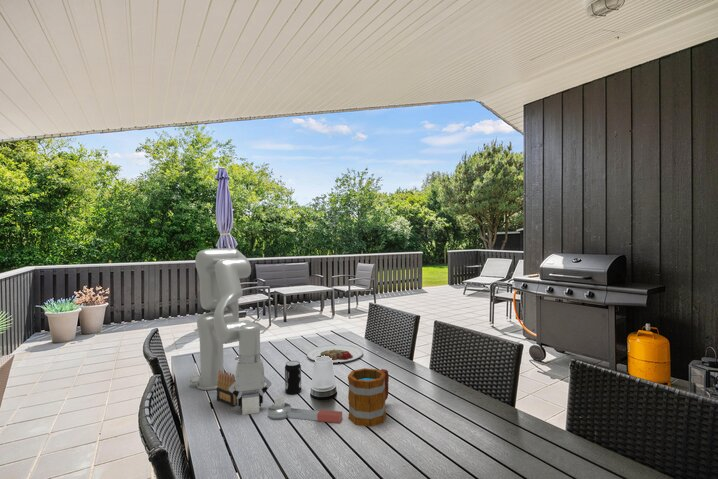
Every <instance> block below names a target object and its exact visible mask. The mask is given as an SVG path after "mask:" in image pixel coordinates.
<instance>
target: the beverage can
mask: <svg viewBox="0 0 718 479" xmlns="http://www.w3.org/2000/svg"><path fill="white" fill-rule="evenodd" d="M300 363H301V362H300V361H299V360H288V361H286V363H285V366H284V390H285V392H286V393H287V395H296V394H299V393H300V392H301V391H302V365H301V364H300Z"/></svg>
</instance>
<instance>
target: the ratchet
mask: <svg viewBox="0 0 718 479" xmlns="http://www.w3.org/2000/svg"><path fill="white" fill-rule="evenodd" d="M267 410H268V412H267V417H268V418H269V419H270V420H272V421H279V420H280V421H281V420H282V421H283V420H285V419H288V418H290V419H296V420H297V419H298V420H299V419H300V420H307V421H309V420H310V421H317V422H322V423H335V424H340V423H341V422H342V419H343V411H342V410H341V411H339V410H329V409H320V410H313V409H304V408H303V409H301V408H293V407H292V405H291V404H289V403H287V402H285V397H284V396H276V397H275V398H274V403H273V404H271V405H270V406H269V407H268V409H267Z"/></svg>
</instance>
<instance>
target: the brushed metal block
mask: <svg viewBox="0 0 718 479" xmlns="http://www.w3.org/2000/svg"><path fill="white" fill-rule="evenodd" d="M241 412H242V414H241V416H245V415H251V414H259V413H260V406H259V391H258V390H252V391H243V393H242V409H241Z"/></svg>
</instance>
